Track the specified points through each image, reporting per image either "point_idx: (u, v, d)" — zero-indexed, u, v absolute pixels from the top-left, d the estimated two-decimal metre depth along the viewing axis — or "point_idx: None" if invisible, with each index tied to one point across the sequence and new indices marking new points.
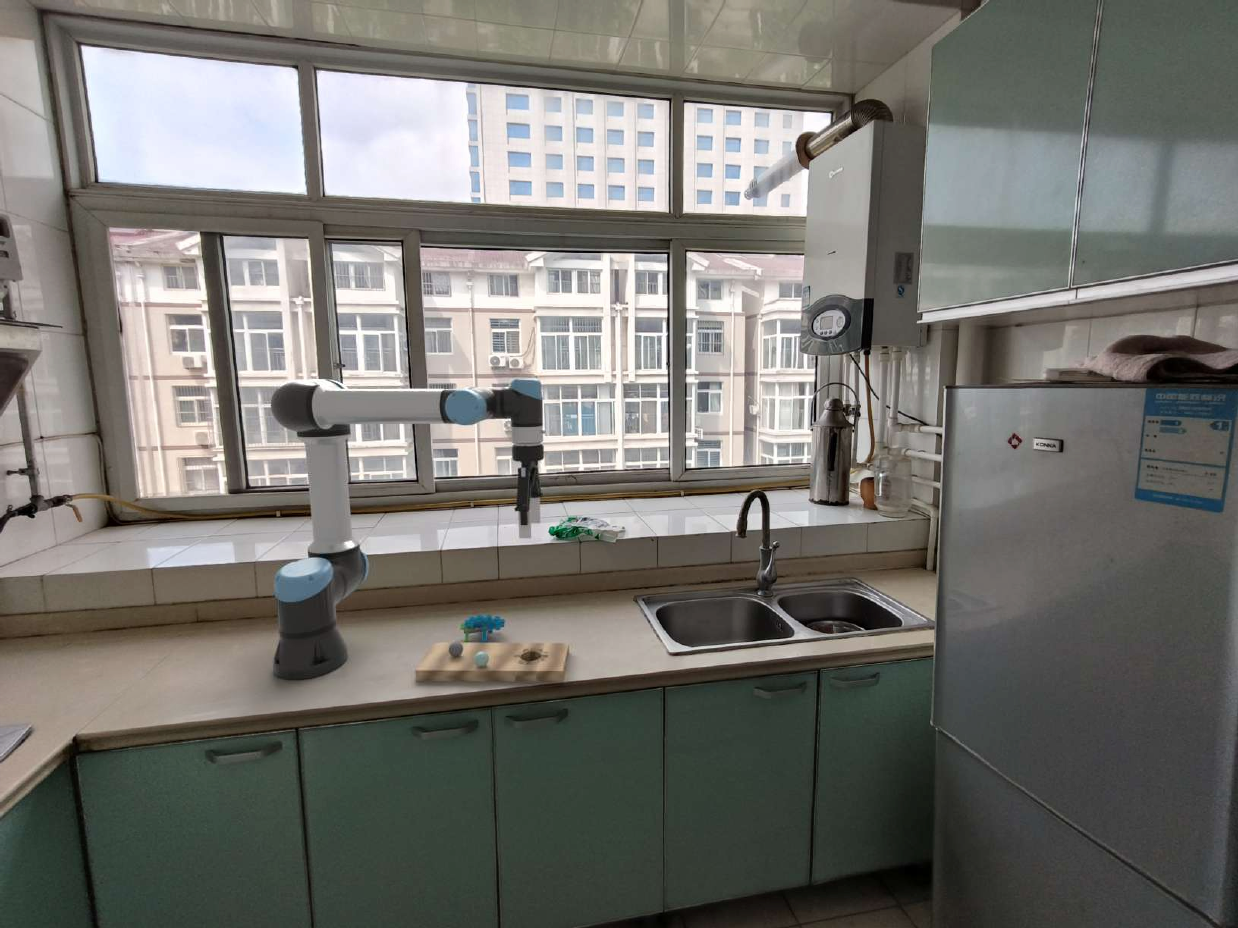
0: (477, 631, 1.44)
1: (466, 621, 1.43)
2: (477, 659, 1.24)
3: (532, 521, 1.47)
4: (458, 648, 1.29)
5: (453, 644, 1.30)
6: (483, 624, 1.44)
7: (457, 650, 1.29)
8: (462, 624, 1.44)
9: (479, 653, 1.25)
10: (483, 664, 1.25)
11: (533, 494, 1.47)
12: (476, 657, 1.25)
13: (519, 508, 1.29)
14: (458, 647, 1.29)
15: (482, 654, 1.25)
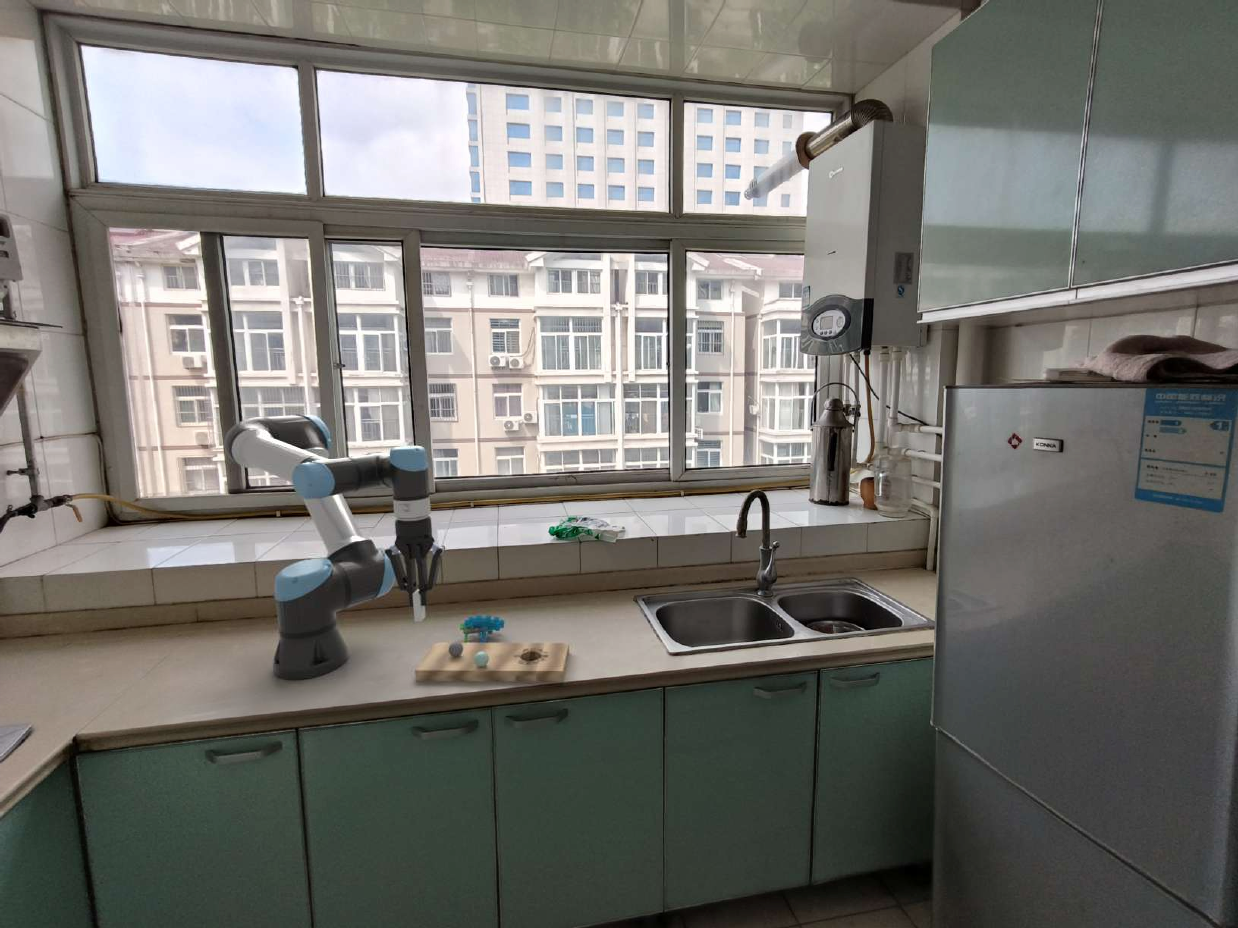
0: (476, 631, 1.44)
1: (465, 621, 1.42)
2: (477, 659, 1.24)
3: None
4: (458, 648, 1.29)
5: (453, 644, 1.30)
6: (482, 625, 1.43)
7: (457, 650, 1.29)
8: (462, 624, 1.44)
9: (479, 653, 1.25)
10: (483, 664, 1.25)
11: None
12: (476, 657, 1.25)
13: None
14: (458, 647, 1.29)
15: (482, 654, 1.25)
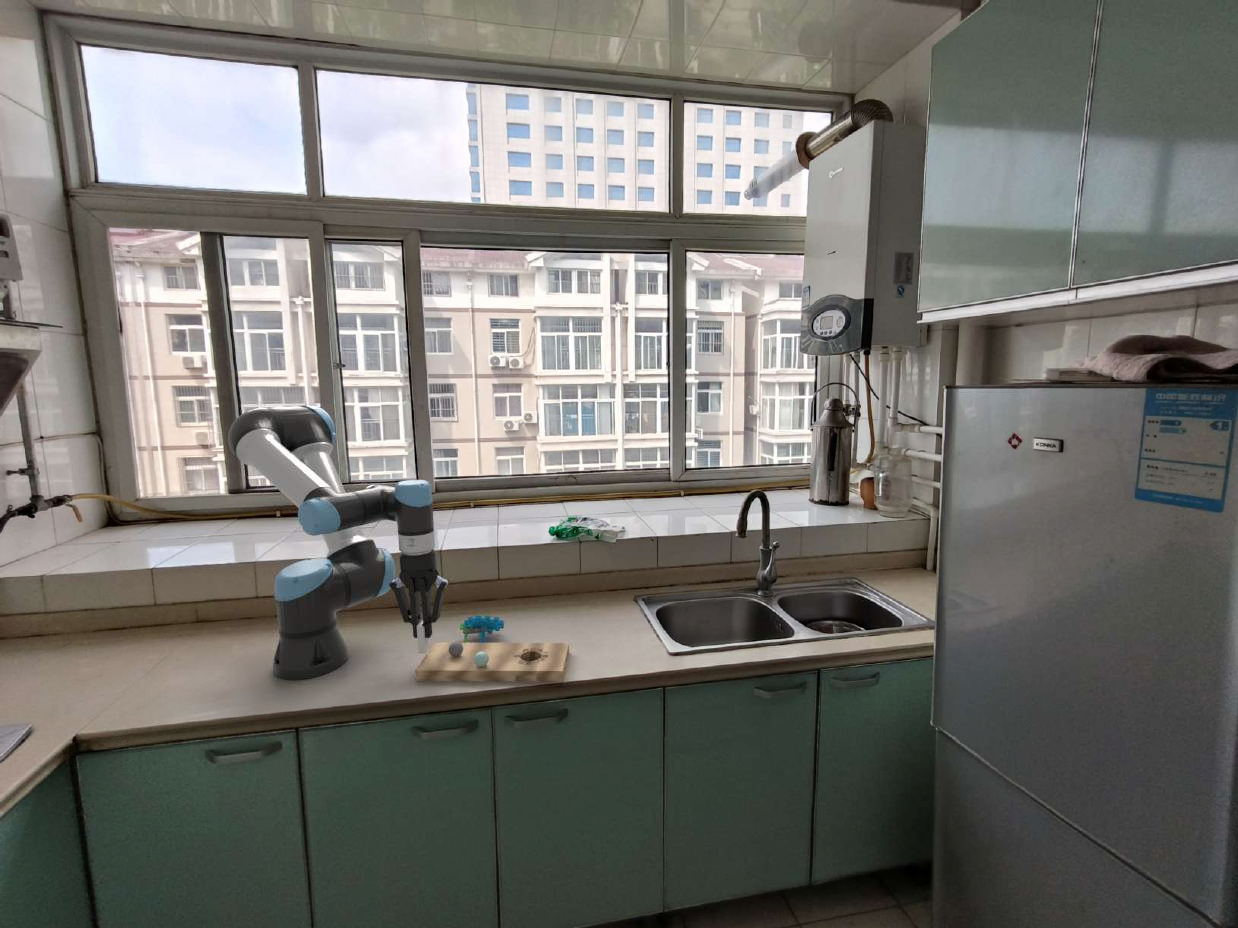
0: (476, 632, 1.43)
1: (465, 621, 1.42)
2: (477, 659, 1.24)
3: None
4: (458, 648, 1.29)
5: (453, 644, 1.30)
6: (482, 625, 1.43)
7: (457, 650, 1.29)
8: (461, 624, 1.44)
9: (479, 653, 1.25)
10: (483, 664, 1.25)
11: None
12: (476, 657, 1.25)
13: None
14: (458, 647, 1.29)
15: (482, 654, 1.25)
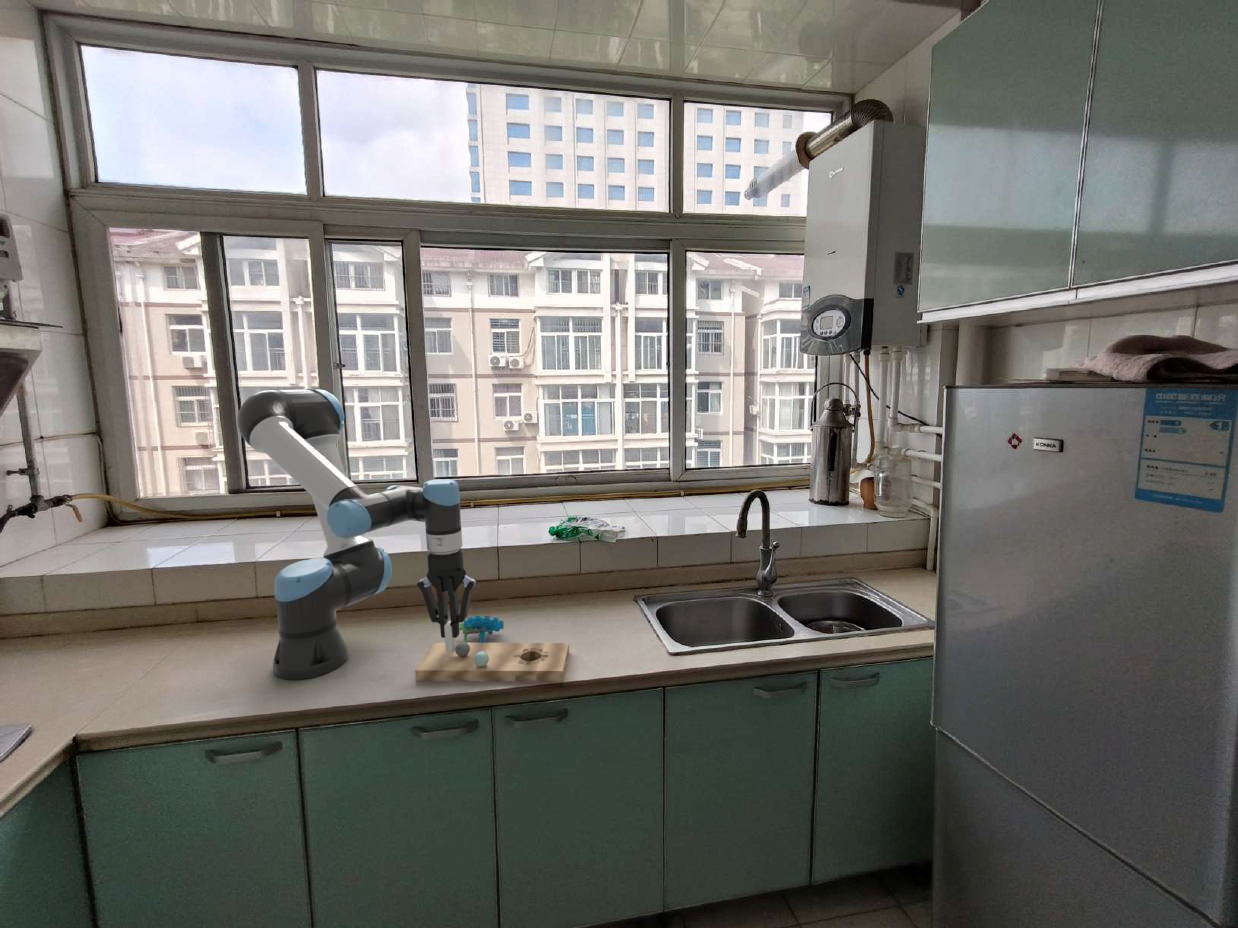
0: (476, 632, 1.43)
1: (465, 622, 1.42)
2: (477, 659, 1.24)
3: None
4: (466, 653, 1.29)
5: (465, 645, 1.30)
6: (482, 625, 1.43)
7: (464, 654, 1.29)
8: (461, 624, 1.44)
9: (479, 653, 1.25)
10: (483, 664, 1.25)
11: None
12: (476, 657, 1.25)
13: None
14: (467, 652, 1.29)
15: (482, 654, 1.25)
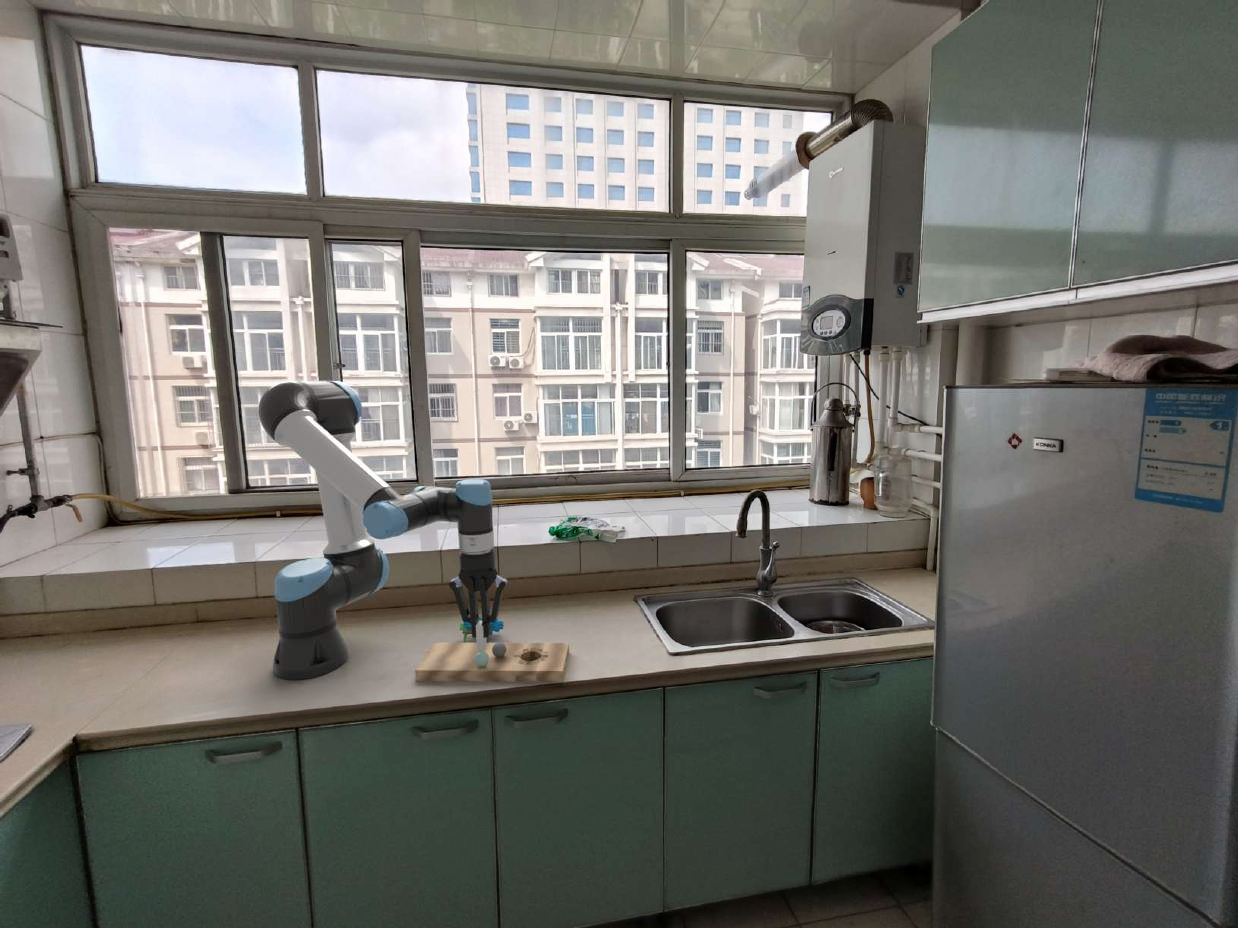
0: None
1: (464, 622, 1.42)
2: (477, 659, 1.24)
3: None
4: (501, 648, 1.29)
5: (496, 645, 1.29)
6: None
7: (501, 650, 1.29)
8: (461, 624, 1.44)
9: (479, 653, 1.25)
10: (483, 664, 1.25)
11: None
12: (476, 657, 1.25)
13: None
14: (502, 647, 1.29)
15: (482, 654, 1.25)
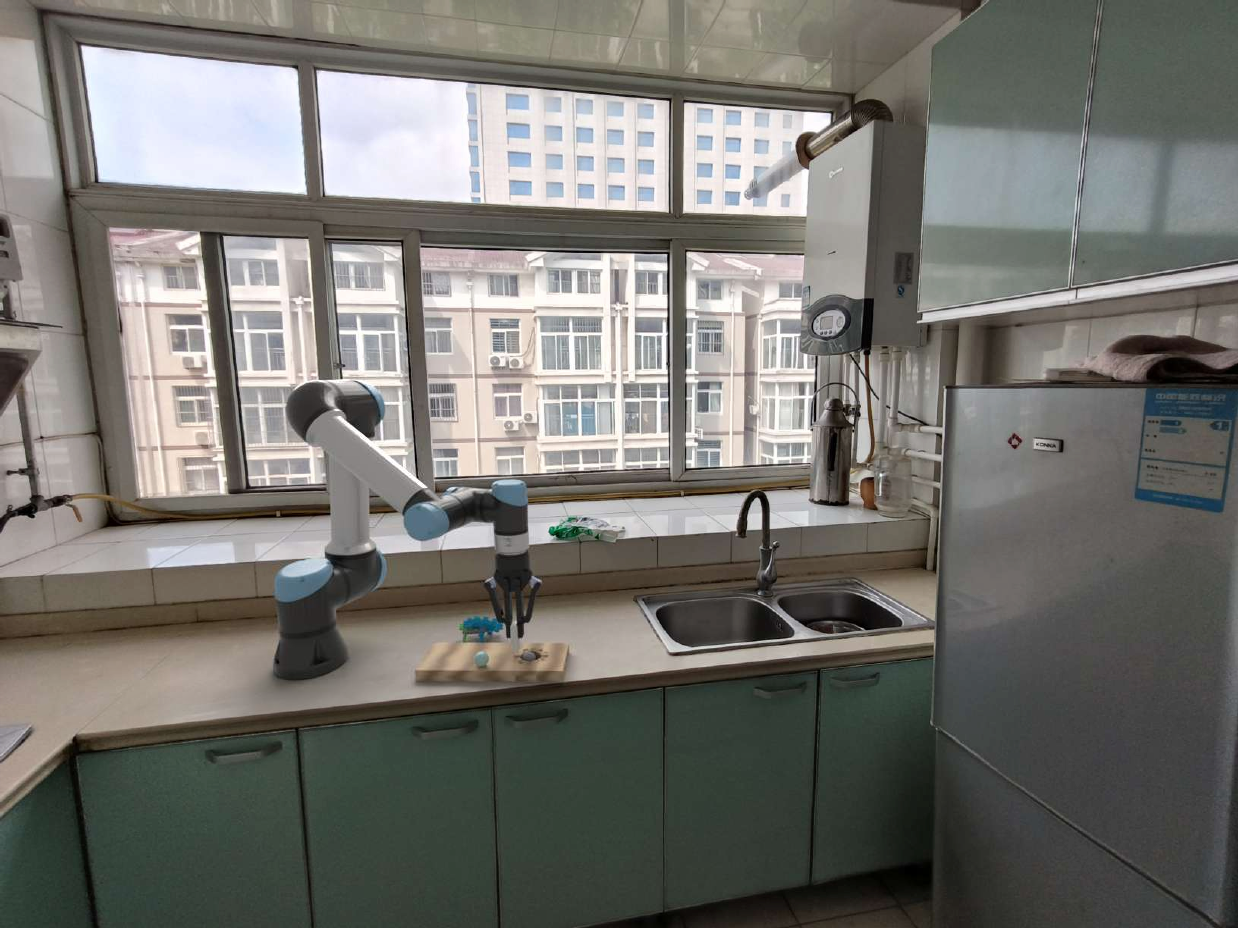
0: (475, 632, 1.43)
1: (464, 622, 1.42)
2: (477, 659, 1.24)
3: None
4: (523, 656, 1.30)
5: None
6: (481, 626, 1.43)
7: (524, 656, 1.30)
8: (461, 625, 1.44)
9: (479, 653, 1.25)
10: (483, 664, 1.25)
11: None
12: (476, 657, 1.25)
13: None
14: (522, 656, 1.30)
15: (482, 654, 1.25)
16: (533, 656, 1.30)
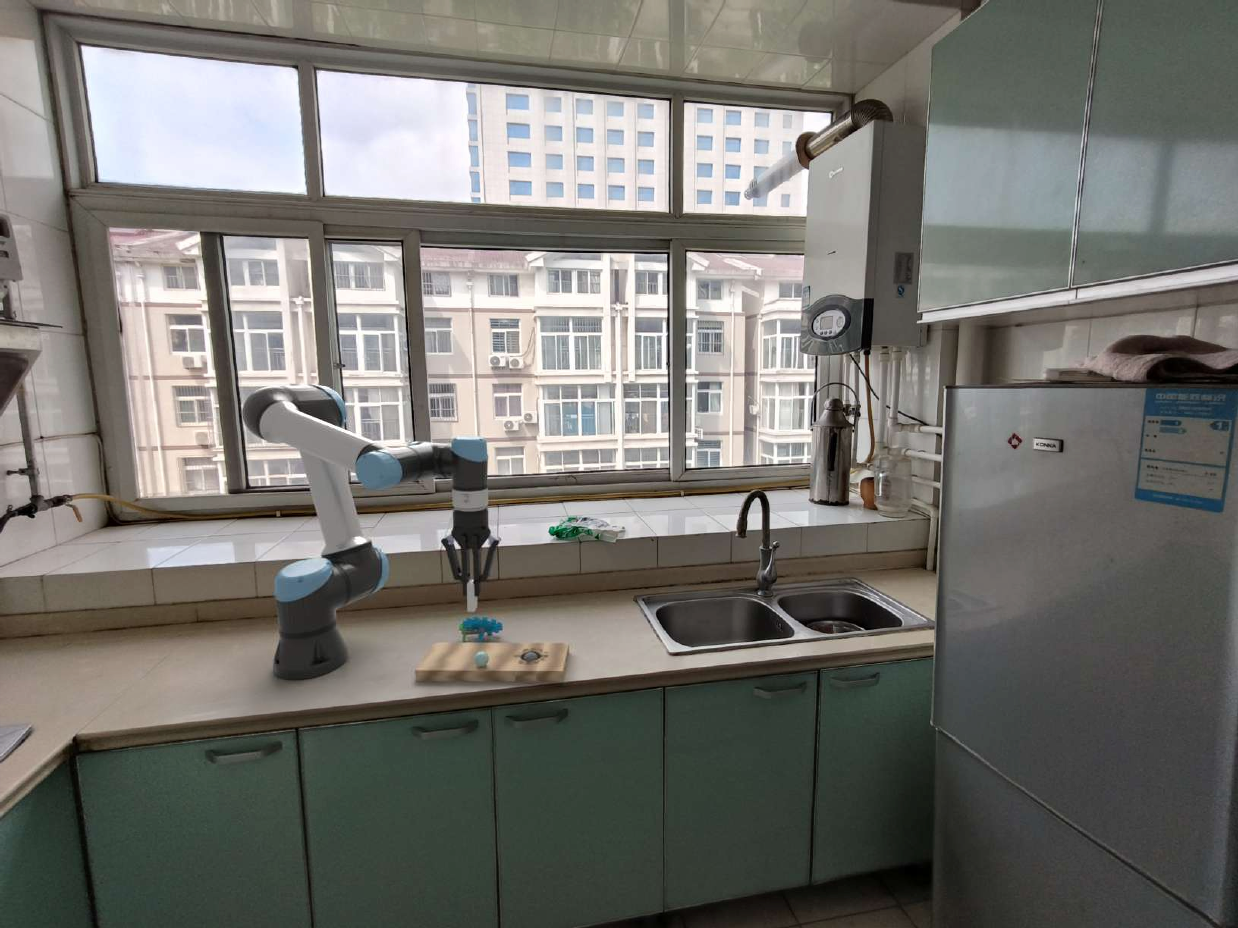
0: (474, 633, 1.43)
1: (463, 622, 1.42)
2: (477, 659, 1.24)
3: None
4: (526, 656, 1.30)
5: None
6: (480, 626, 1.42)
7: (527, 657, 1.29)
8: (460, 625, 1.44)
9: (479, 653, 1.25)
10: (483, 664, 1.25)
11: None
12: (476, 657, 1.25)
13: None
14: (525, 656, 1.30)
15: (482, 654, 1.25)
16: (536, 659, 1.30)
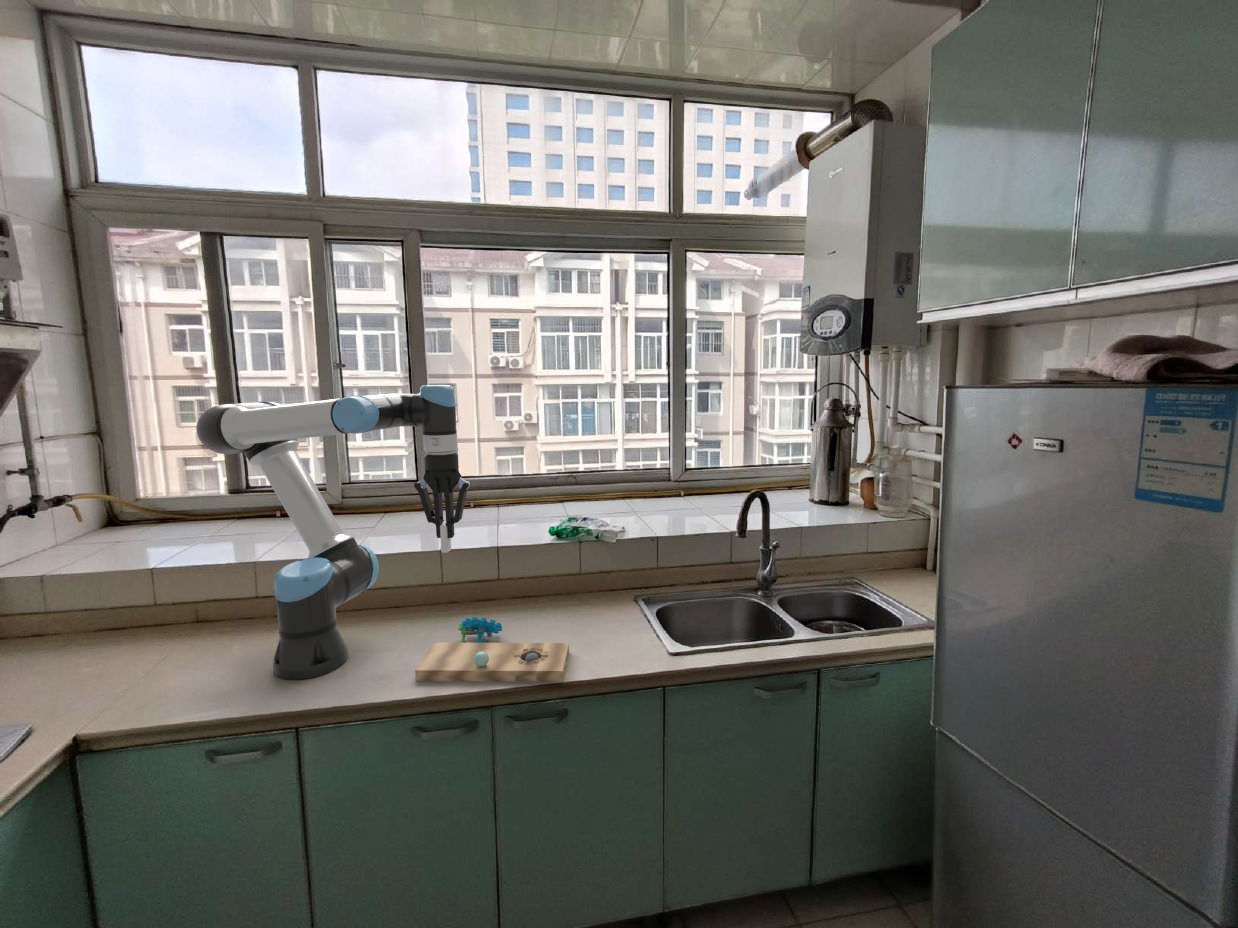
0: (474, 633, 1.43)
1: (463, 622, 1.42)
2: (477, 659, 1.24)
3: None
4: (528, 657, 1.29)
5: None
6: (479, 627, 1.42)
7: (530, 658, 1.29)
8: (460, 625, 1.44)
9: (479, 653, 1.25)
10: (483, 664, 1.25)
11: None
12: (476, 657, 1.25)
13: None
14: (528, 656, 1.29)
15: (482, 654, 1.25)
16: None
